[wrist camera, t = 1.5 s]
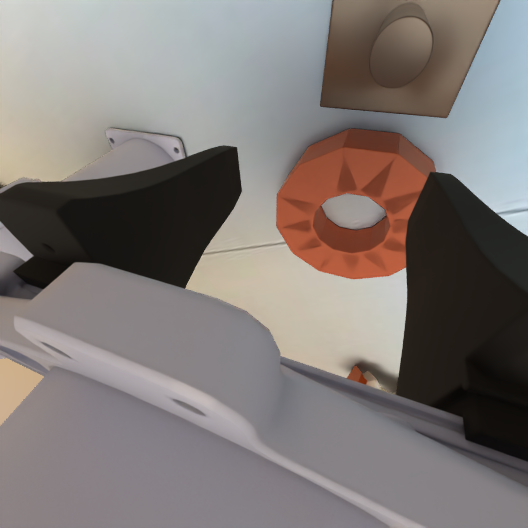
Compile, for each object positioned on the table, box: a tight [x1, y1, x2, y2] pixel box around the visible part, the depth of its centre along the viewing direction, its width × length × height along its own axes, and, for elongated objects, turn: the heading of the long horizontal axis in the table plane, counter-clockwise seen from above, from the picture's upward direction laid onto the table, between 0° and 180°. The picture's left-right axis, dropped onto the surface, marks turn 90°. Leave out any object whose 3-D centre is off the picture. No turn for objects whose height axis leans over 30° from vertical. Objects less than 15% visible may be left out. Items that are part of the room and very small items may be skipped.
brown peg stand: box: [320, 0, 500, 118], centre depth 11 cm, size 7×7×7 cm
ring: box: [276, 128, 435, 279], centre depth 20 cm, size 11×11×3 cm
